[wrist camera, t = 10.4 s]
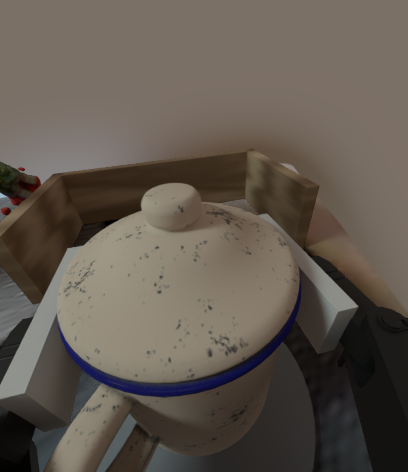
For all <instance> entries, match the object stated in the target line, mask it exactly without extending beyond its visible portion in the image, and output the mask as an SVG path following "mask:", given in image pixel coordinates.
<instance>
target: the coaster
mask: <svg viewBox="0 0 408 472" xmlns="http://www.w3.org/2000/svg"><path fill="white" fill-rule="evenodd" d="M135 423H136V422H135V420H134V419H133V418H132V416H131V415H130V414H129V415H128V416H127V418H126V419H125V421H124V423H123V424H122V426H121V428H120V429H119V431H118V433H117V435H116V436H115V438H114V440H113V441H112V443H111V445H110V447H109V448H108V450H107V452H106V454H105V455H104V457H103V459H102V461H101V463H100V465H99V467H98V469H97V471H96V472H105V471H106V469H107V468H108V467H109V465H110V464H111V463H112V461H113V460H114V458H115V457H116V455H117V454H118V452H119V451H120V449H121V447H122V446H123V444H124V443H125V441H126V439H127V438H128V436H129V434H130V432H131V431H132V429H133V427H134V425H135ZM314 456H315V422H314V414H313V407H312V403H311V399H310V395H309V391H308V388H307V385H306V382H305V379H304V377H303V374H302V372H301V370H300V368H299V366H298V364H297V362H296V360H295V358H294V357H293V355H292V353H291V352H290V350H289V349H288V347H287V346H286V345H285V344H284V342H282V343H281V345H280V349H279V352H278V356H277V360H276V363H275V367H274V371H273V374H272V378H271V382H270V386H269V389H268V393H267V397H266V400H265V403H264V406H263V408H262V410H261V413H260V415H259V417H258V418H257V420H256V421H255V423H254V424H253V426H252V427H251V428H250V430H249V431H248V432H247V433H246V434H245V435H244V436H243V437H242V438H241V439H240V440H238V441H237V442H236V443H235V444H233V445H231V446H230V447H228V448H226V449H224V450H222V451H220V452H217V453H214V454H211V455H206V456H193V457H192V456H183V455H179V454H175V453H172V452H170V451H167V450H165V449H163V448H162V447H160V446H157V448H156V450H155V452H154V455H153V457H152V459H151V461H150V463H149V465H148V467H147V469H146V471H145V472H312V471H313V466H314Z"/></svg>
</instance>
